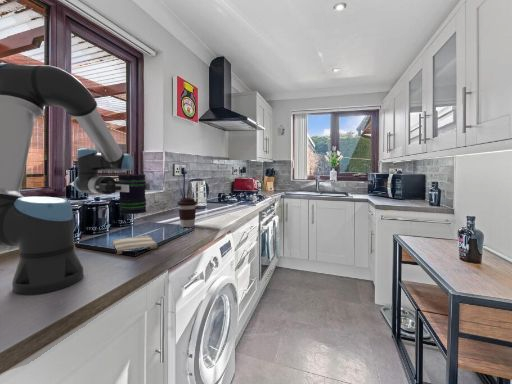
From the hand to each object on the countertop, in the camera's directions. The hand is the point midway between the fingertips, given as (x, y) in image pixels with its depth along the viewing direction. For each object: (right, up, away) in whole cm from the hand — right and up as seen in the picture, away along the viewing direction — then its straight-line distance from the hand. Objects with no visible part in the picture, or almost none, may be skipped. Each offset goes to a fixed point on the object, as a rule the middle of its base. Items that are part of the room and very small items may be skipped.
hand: (140, 187), depth 100 cm
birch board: (-4, -23, +4) cm, 24 cm away
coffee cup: (+8, -20, +39) cm, 45 cm away
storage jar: (-4, -10, +3) cm, 11 cm away
